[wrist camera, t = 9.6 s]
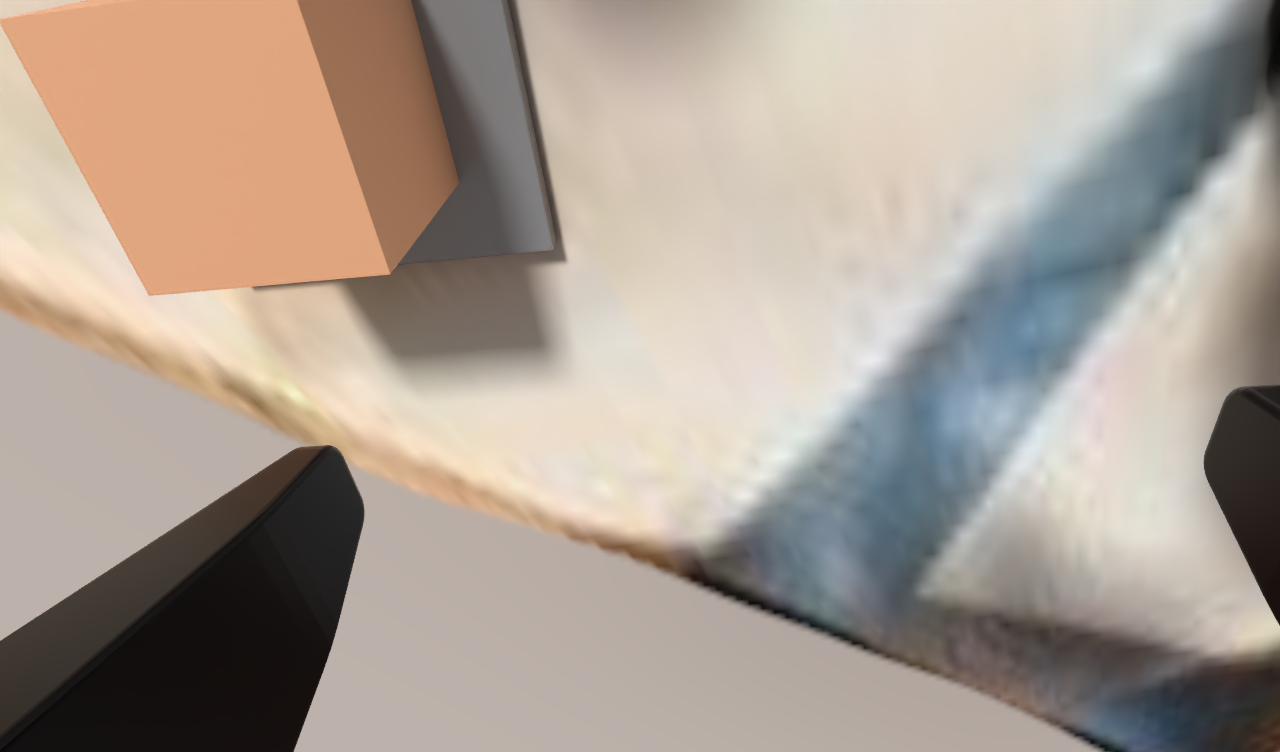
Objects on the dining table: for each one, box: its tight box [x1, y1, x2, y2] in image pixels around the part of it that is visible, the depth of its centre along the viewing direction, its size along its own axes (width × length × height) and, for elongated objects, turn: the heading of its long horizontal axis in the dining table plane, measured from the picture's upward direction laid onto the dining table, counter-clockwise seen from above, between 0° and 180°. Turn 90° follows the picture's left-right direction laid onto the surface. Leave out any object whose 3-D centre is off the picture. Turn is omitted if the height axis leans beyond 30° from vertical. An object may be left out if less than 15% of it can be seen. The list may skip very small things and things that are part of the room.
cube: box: [0, 0, 459, 296], centre depth 15 cm, size 5×5×5 cm
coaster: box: [399, 0, 556, 264], centre depth 17 cm, size 9×9×1 cm
